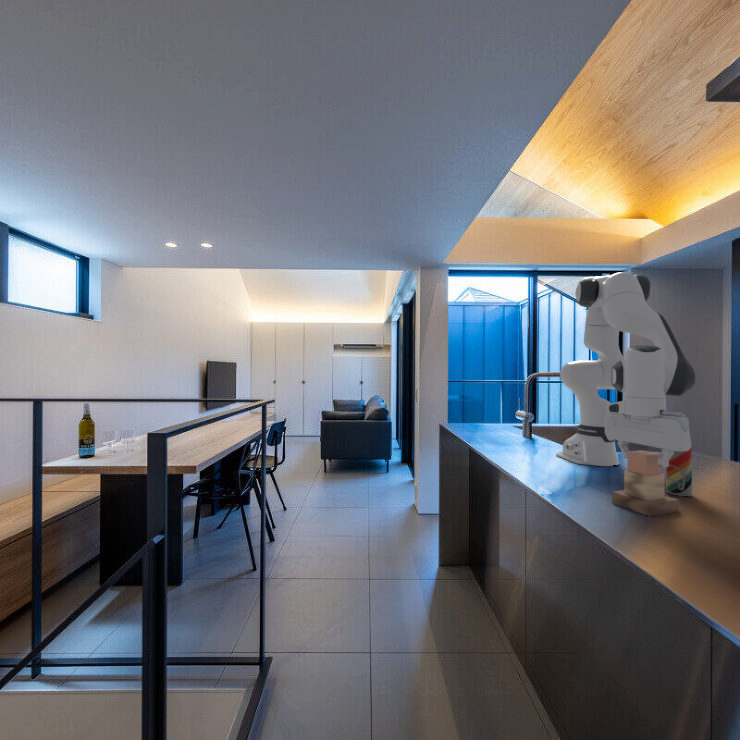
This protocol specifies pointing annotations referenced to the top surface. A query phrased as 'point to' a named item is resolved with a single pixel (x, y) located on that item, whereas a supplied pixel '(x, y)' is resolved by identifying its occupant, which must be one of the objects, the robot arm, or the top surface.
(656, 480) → the oak cube
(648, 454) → the terracotta block
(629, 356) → the robot arm
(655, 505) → the walnut base
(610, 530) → the top surface
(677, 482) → the lotion bottle
